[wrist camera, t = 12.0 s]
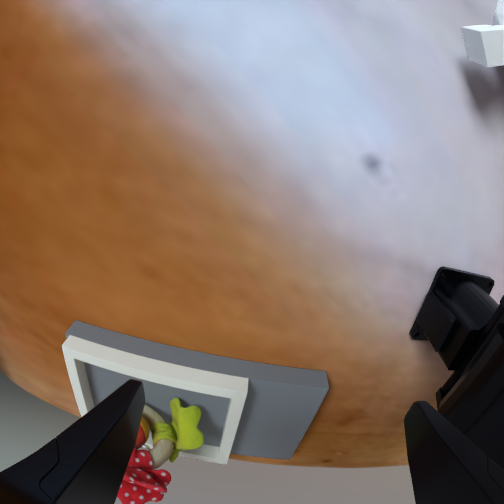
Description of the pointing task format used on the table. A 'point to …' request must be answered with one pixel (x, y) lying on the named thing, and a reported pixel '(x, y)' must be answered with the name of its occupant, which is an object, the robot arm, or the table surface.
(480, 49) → the perfume bottle
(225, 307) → the table surface
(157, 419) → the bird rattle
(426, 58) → the table surface
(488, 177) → the table surface
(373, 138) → the table surface
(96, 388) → the base plate
